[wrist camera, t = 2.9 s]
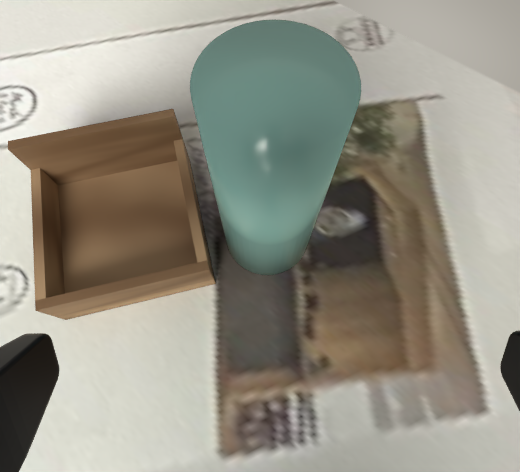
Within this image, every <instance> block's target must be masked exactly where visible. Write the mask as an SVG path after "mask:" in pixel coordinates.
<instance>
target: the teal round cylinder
mask: <svg viewBox="0 0 520 472" xmlns="http://www.w3.org/2000/svg"><path fill="white" fill-rule="evenodd" d="M190 92H191V98H192V103H193V107H194V111H195V115H196V119H197V123H198V127H199V132H200V136H201V140H202V144H203V148H204V152H205V156H206V160H207V165H208V169H209V173H210V177H211V181H212V185H213V189H214V194H215V198H216V202H217V206H218V210H219V214H220V218H221V222H222V227H223V231H224V235H225V239H226V243H227V247H228V250H229V252H230V254H231V256H232V257H233V259H234V260H235V261H236V262H237V263H238V264H239V265H240V266H242V267H243V268H245V269H246V270H248V271H250V272H253V273H256V274H261V275H274V274H279V273H282V272H285V271H287V270H289V269H290V268H292V267H293V266H294V265H296V264H297V263H298V262H299V261H300V259H301V258H302V256H303V255H304V253H305V251H306V248H307V246H308V243H309V240H310V237H311V235H312V232H313V229H314V226H315V224H316V221H317V218H318V215H319V213H320V210H321V207H322V204H323V202H324V199H325V196H326V193H327V191H328V188H329V185H330V182H331V179H332V177H333V174H334V171H335V168H336V166H337V163H338V160H339V157H340V155H341V152H342V149H343V146H344V144H345V141H346V138H347V135H348V133H349V130H350V127H351V124H352V122H353V119H354V116H355V113H356V111H357V108H358V104H359V101H360V95H361V81H360V76H359V72H358V69H357V67H356V64H355V62H354V61H353V59H352V57H351V56H350V54H349V53H348V52H347V50H346V49H345V48H344V47H343V46H342V45H341V44H340V43H339V42H337V41H336V40H335V39H334V38H332V37H331V36H329V35H328V34H326V33H324V32H323V31H321V30H318V29H316V28H314V27H311V26H309V25H306V24H302V23H298V22H293V21H287V20H262V21H255V22H250V23H246V24H243V25H240V26H237V27H235V28H232V29H230V30H228V31H226V32H225V33H223V34H221V35H220V36H218V37H217V38H216V39H214V40H213V41H212V42H211V43H210V44H209V45H208V46H207V47H206V48H205V49H204V50H203V51H202V53H201V54H200V56H199V57H198V59H197V61H196V63H195V65H194V68H193V71H192V74H191V80H190Z"/></svg>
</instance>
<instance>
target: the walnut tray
mask: <svg viewBox="0 0 520 472" xmlns="http://www.w3.org/2000/svg"><path fill="white" fill-rule="evenodd" d="M8 150H9V151H11V152H12V153H13V154H14V155H15V156H16V157H17V158H18V159H19V160H20V161H21V162H23V163H24V164H25V165H26V166H27V167H28V168H29V169H30V170H31V191H32V220H33V248H34V277H35V306H36V311H39V312H42V313H45V314H49V315H52V316H55V317H58V318H62V319H65V320H67V319H71V318H75V317H79V316H83V315H88V314H92V313H96V312H100V311H104V310H108V309H113V308H117V307H121V306H125V305H129V304H133V303H137V302H142V301H146V300H150V299H154V298H158V297H162V296H167V295H171V294H175V293H179V292H183V291H187V290H191V289H196V288H200V287H204V286H208V285H212V284H216V283H215V278H214V273H213V269H212V264H211V259H210V254H209V250H208V245H207V240H206V235H205V231H204V226H203V221H202V216H201V212H200V207H199V202H198V197H197V193H196V188H195V183H194V178H193V174H192V169H191V164H190V160H189V157H188V153H187V150H186V147H185V144H184V141H183V138H182V135H181V132H180V128H179V125H178V122H177V119H176V116H175V113H174V110H173V109H169V110H164V111H159V112H154V113H149V114H144V115H139V116H134V117H129V118H124V119H119V120H114V121H108V122H103V123H98V124H93V125H88V126H83V127H78V128H73V129H68V130H63V131H58V132H52V133H47V134H42V135H37V136H32V137H27V138H22V139H17V140H12V141H8Z"/></svg>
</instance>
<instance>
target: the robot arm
mask: <svg viewBox="0 0 520 472" xmlns="http://www.w3.org/2000/svg"><path fill="white" fill-rule="evenodd" d="M501 373H502V376H503V379H504V381H505V383H506V385H507V387H508V389H509V391H510V393H511V395H512V397H513V399H514V401H515V403H516V405H517V407H518V409H519V411H520V331H515V332H513V333H512V334H511V335H510V337H509V339H508V342H507V346H506V349H505V352H504V355H503V358H502V361H501ZM58 376H59V364H58V361H57V357H56V353H55V350H54V346H53V343H52V340H51V338H50V336H49V335H47V334H24V335H22V336H20V337H18V338H16V339H15V340H13V341H11V342H9V343H7V344H5V345H3V346H1V347H0V472H19V470H20V468H21V466H22V464H23V462H24V460H25V458H26V456H27V454H28V451H29V449H30V447H31V444H32V442H33V440H34V437H35V435H36V432H37V430H38V427H39V425H40V422H41V420H42V417H43V415H44V412H45V410H46V407H47V405H48V402H49V400H50V397H51V395H52V392H53V390H54V387H55V385H56V382H57V380H58Z"/></svg>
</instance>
